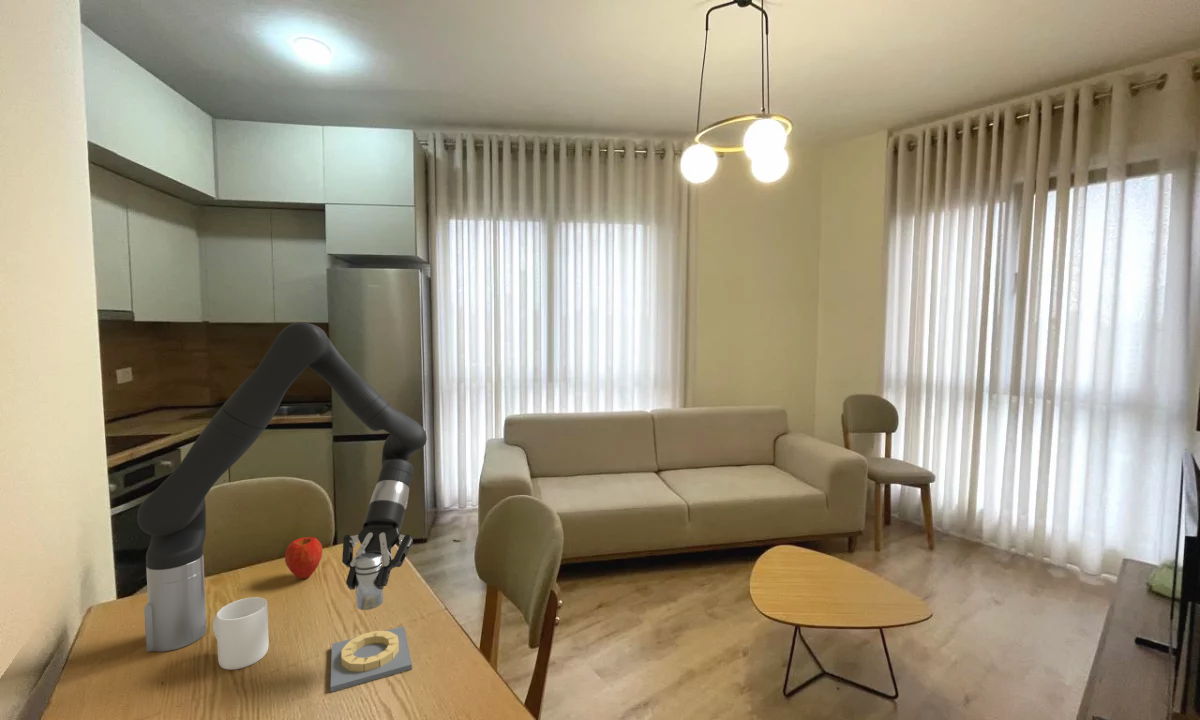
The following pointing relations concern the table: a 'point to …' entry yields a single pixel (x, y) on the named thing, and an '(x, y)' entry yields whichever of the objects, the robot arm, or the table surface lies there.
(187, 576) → the robot arm
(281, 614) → the table surface
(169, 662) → the table surface
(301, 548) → the apple
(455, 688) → the table surface
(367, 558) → the piston
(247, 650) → the mug
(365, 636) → the ring block
